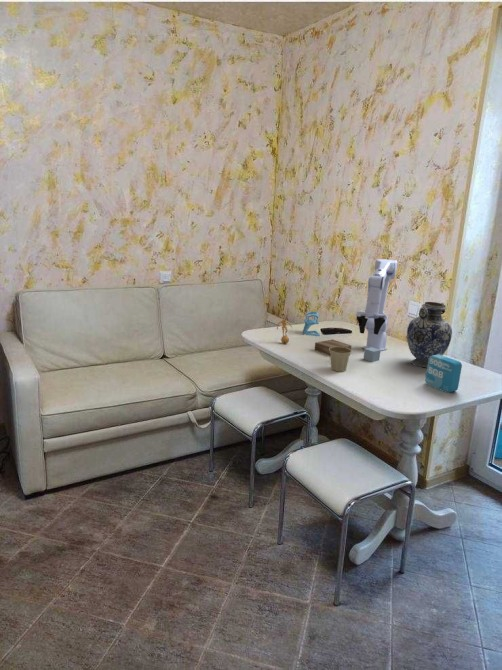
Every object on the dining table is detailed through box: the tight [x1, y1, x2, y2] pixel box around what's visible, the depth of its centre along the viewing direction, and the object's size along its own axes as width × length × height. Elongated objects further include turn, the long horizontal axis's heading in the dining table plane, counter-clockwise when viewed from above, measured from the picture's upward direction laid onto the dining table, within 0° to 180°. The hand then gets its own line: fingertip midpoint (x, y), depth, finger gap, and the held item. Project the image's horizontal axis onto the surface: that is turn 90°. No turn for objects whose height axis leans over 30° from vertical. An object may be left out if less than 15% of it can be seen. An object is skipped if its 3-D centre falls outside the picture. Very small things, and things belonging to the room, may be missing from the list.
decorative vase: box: [406, 301, 453, 369], centre depth 212 cm, size 21×19×28 cm
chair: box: [301, 311, 320, 337], centre depth 256 cm, size 8×8×12 cm
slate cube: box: [363, 347, 382, 363], centre depth 218 cm, size 5×5×5 cm
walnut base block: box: [314, 339, 352, 356], centre depth 227 cm, size 12×12×4 cm
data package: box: [425, 355, 463, 393], centre depth 186 cm, size 12×4×12 cm, turn 30°
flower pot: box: [329, 347, 353, 372], centre depth 201 cm, size 9×9×9 cm
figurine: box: [276, 318, 293, 344], centre depth 236 cm, size 8×6×12 cm
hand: (368, 333), depth 213 cm, fingers open, 7 cm apart
